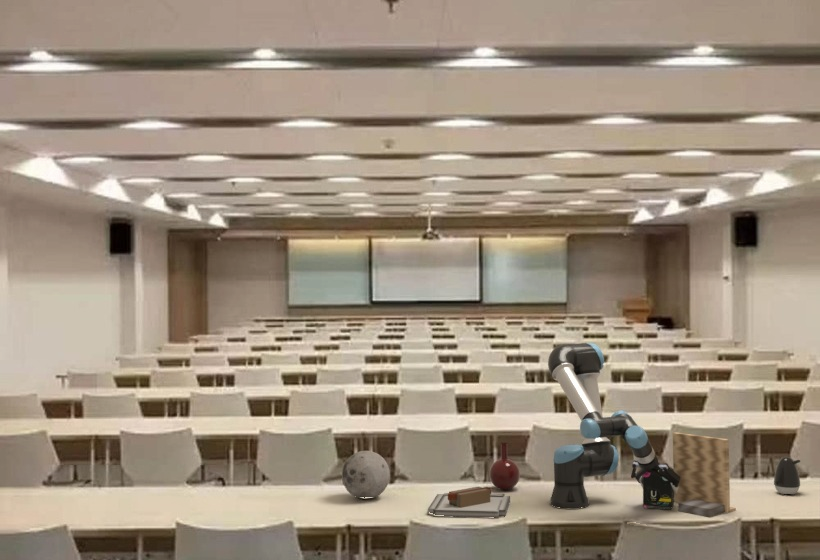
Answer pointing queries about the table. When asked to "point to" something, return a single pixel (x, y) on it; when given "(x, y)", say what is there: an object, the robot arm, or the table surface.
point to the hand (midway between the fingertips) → (660, 488)
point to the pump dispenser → (787, 476)
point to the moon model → (365, 474)
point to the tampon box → (657, 492)
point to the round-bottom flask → (504, 471)
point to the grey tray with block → (470, 503)
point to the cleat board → (702, 474)
